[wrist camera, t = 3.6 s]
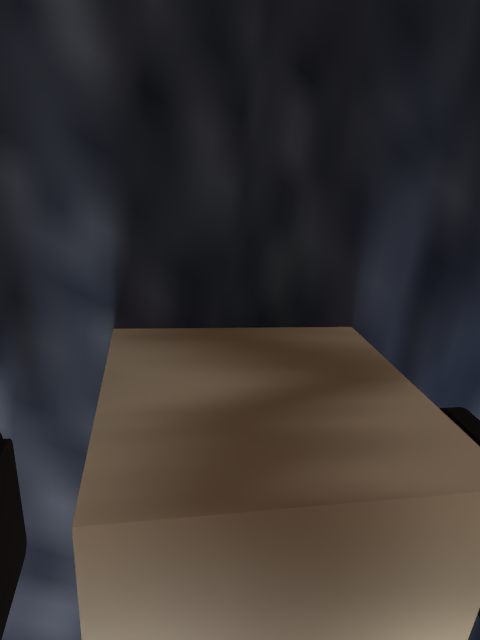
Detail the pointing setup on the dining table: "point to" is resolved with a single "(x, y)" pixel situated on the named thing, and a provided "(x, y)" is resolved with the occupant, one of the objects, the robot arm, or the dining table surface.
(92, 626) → the maple block
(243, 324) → the dining table surface
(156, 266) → the dining table surface
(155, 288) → the dining table surface
